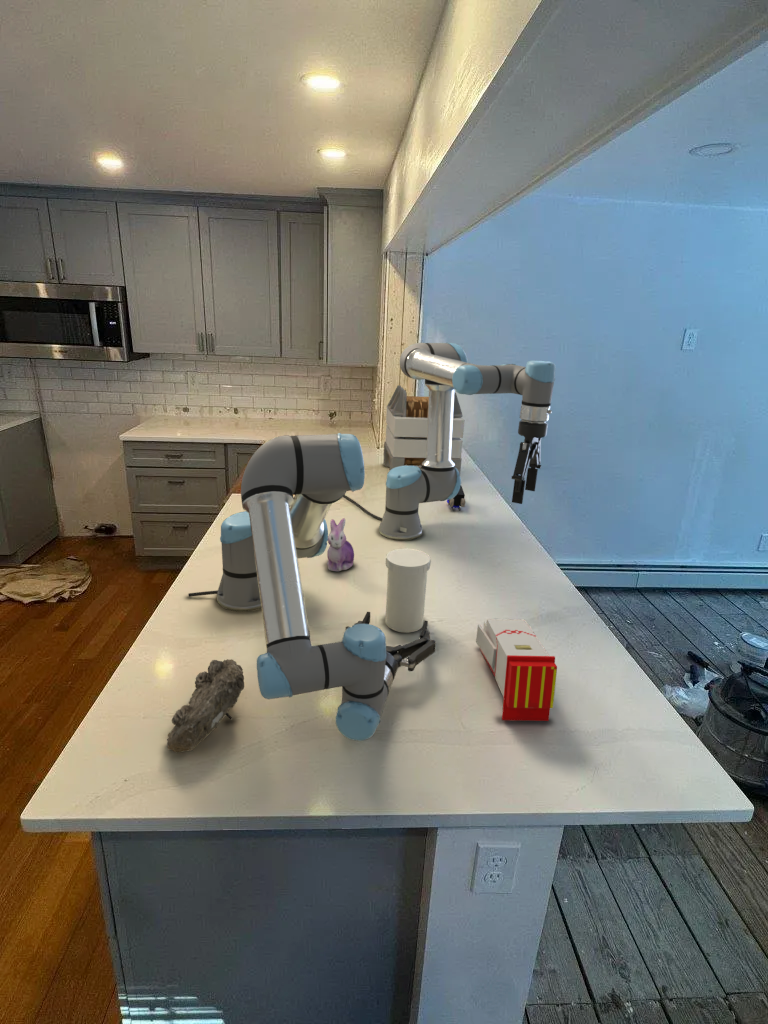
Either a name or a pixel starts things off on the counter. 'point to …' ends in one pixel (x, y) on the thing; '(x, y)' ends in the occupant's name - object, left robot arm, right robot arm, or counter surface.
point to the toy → (519, 668)
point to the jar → (405, 601)
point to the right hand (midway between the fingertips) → (523, 496)
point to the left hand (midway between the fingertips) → (397, 621)
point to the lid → (408, 561)
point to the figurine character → (457, 500)
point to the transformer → (415, 431)
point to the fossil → (206, 705)
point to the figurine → (339, 548)
